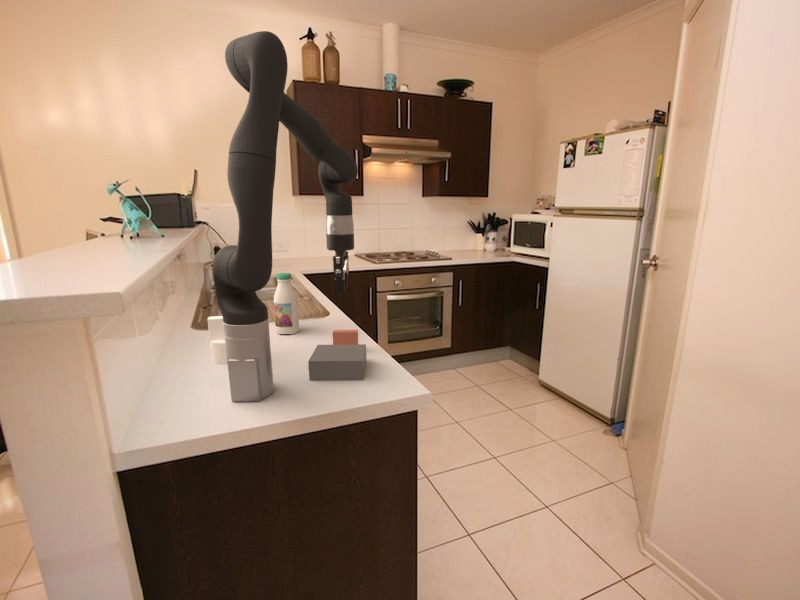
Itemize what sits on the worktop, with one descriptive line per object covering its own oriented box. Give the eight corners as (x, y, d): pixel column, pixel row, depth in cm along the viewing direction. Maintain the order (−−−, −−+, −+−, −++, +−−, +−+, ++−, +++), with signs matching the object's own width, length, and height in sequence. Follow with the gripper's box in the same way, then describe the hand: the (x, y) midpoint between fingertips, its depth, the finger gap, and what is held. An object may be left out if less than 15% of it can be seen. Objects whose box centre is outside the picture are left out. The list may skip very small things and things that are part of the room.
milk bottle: (288, 327, 142) (284, 271, 138) (304, 330, 138) (300, 272, 134) (270, 333, 136) (266, 274, 131) (287, 337, 132) (283, 276, 128)
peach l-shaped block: (352, 377, 100) (352, 354, 99) (320, 377, 100) (319, 354, 98) (360, 349, 120) (359, 329, 118) (332, 349, 120) (332, 329, 118)
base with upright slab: (209, 365, 108) (204, 322, 106) (214, 354, 117) (210, 314, 114) (245, 362, 111) (241, 319, 108) (247, 351, 119) (244, 311, 116)
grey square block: (362, 380, 99) (362, 360, 98) (309, 380, 99) (308, 361, 98) (366, 360, 111) (366, 343, 110) (319, 361, 111) (318, 343, 110)
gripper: (351, 233, 105) (353, 295, 108) (356, 230, 118) (357, 285, 122) (322, 234, 104) (324, 295, 108) (330, 230, 118) (332, 285, 122)
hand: (342, 290), depth 115 cm, fingers open, 8 cm apart
